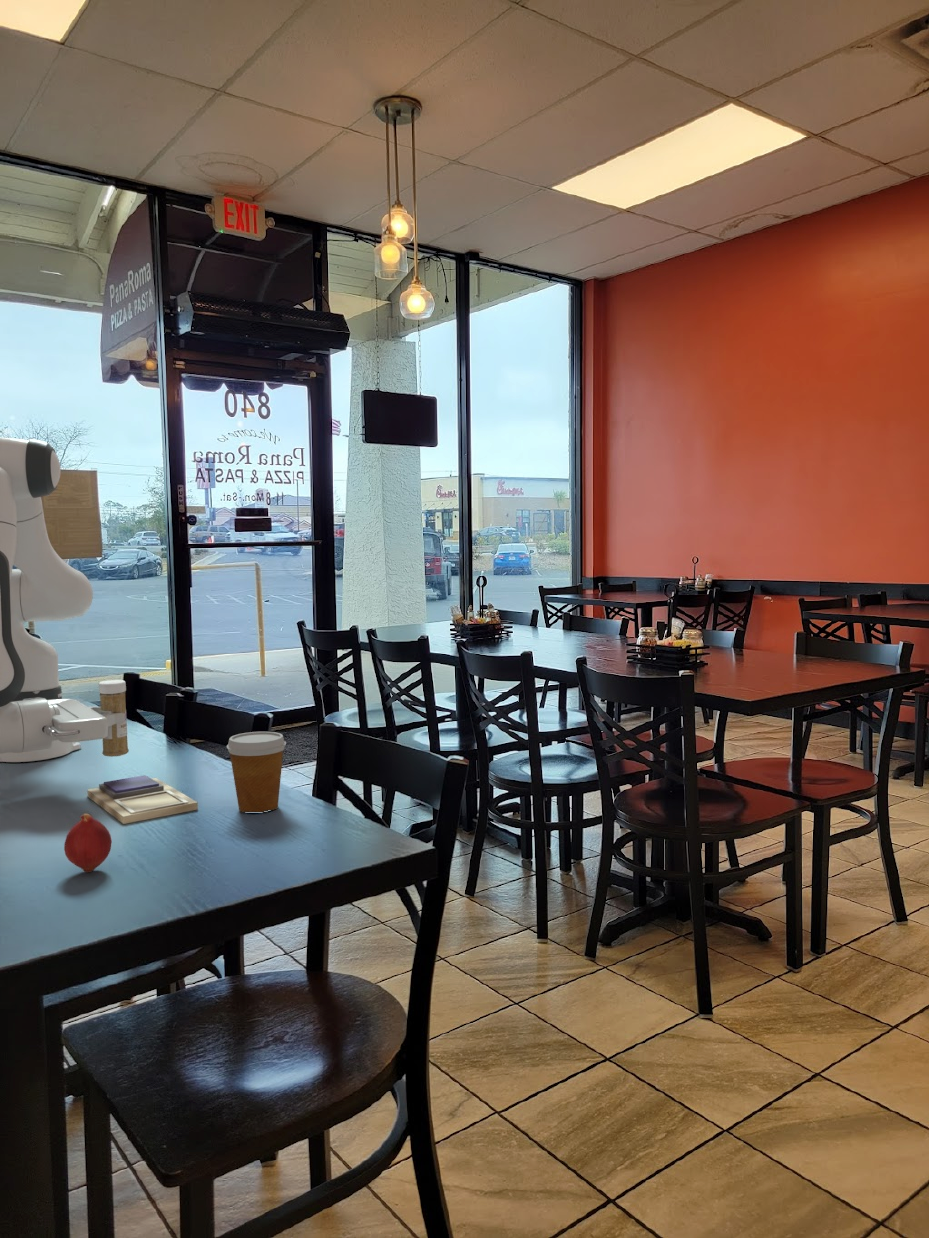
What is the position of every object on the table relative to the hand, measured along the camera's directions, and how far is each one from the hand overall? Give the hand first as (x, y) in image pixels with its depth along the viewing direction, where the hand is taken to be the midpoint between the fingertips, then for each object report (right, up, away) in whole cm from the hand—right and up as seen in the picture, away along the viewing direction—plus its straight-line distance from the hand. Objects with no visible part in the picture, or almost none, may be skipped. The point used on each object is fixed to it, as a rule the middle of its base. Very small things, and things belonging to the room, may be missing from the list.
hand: (118, 713), depth 163 cm
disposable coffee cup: (+29, -14, -15) cm, 35 cm away
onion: (+12, -17, -42) cm, 47 cm away
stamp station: (+8, -14, -11) cm, 19 cm away
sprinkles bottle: (-1, -8, 0) cm, 8 cm away
